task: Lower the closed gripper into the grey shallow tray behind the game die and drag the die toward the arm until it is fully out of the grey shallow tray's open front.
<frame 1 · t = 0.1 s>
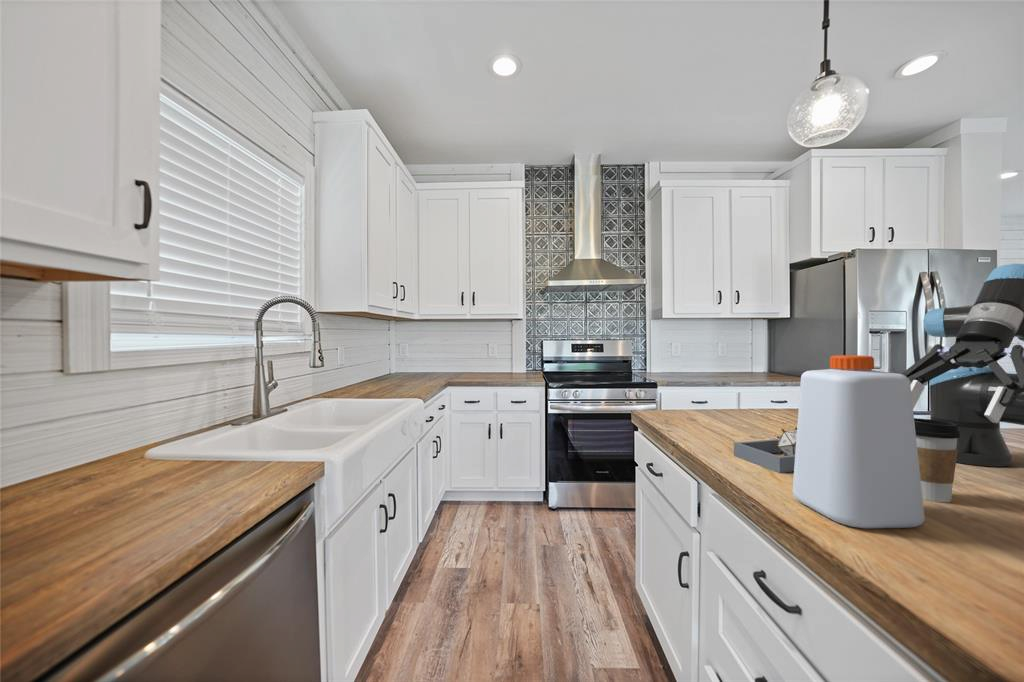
hand: (945, 413, 82), 15 cm above the worktop, tool tilted 35°, fingers open, 13 cm apart
plastic bottle: (853, 512, 71), on the worktop
coffee cup: (928, 497, 77), on the worktop
grey shallow tray: (785, 460, 100), on the worktop
game die: (795, 461, 101), on the worktop
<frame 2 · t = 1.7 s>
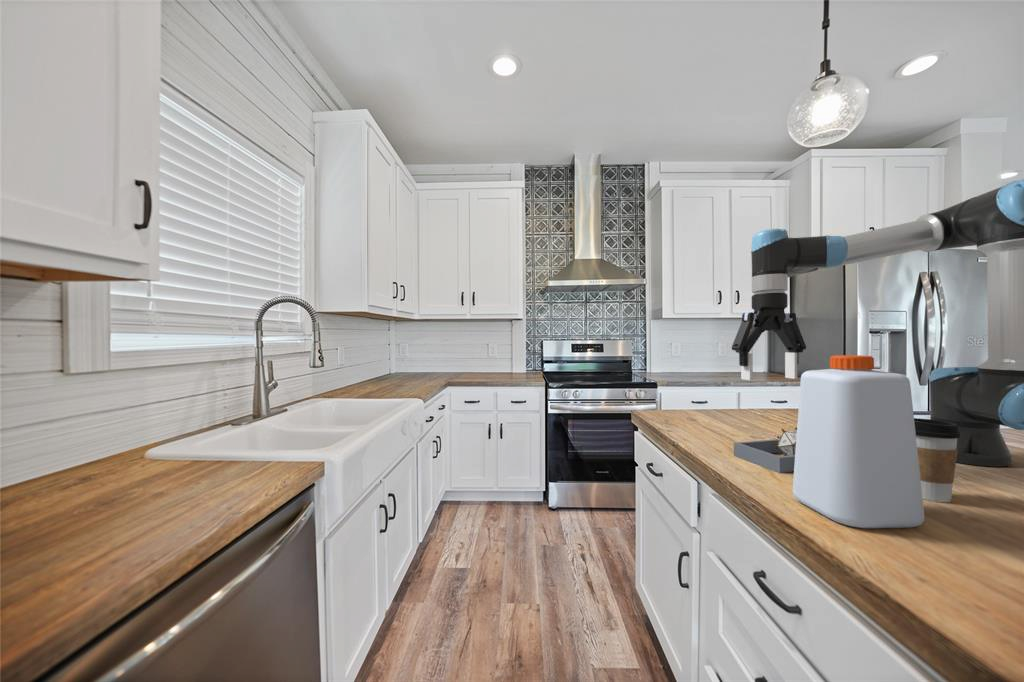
hand: (769, 379, 99), 21 cm above the worktop, tool pointing down, fingers open, 12 cm apart
nothing on the worktop moved.
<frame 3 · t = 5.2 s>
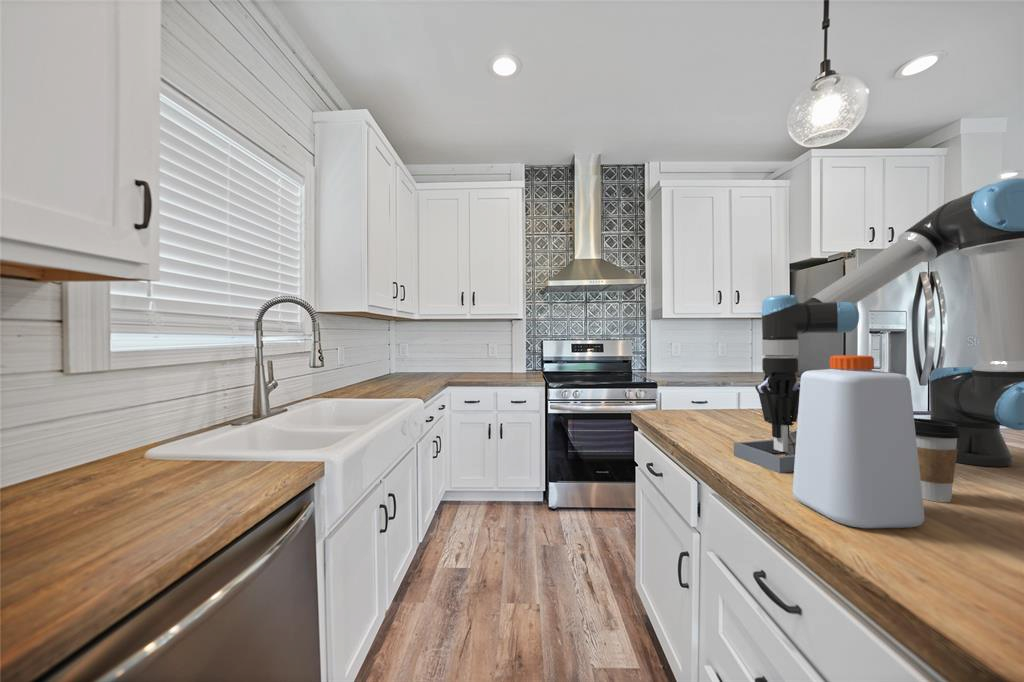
hand: (780, 450, 100), 3 cm above the worktop, tool pointing down, fingers closed
game die: (796, 460, 101), on the worktop, touching gripper
everything else where it was.
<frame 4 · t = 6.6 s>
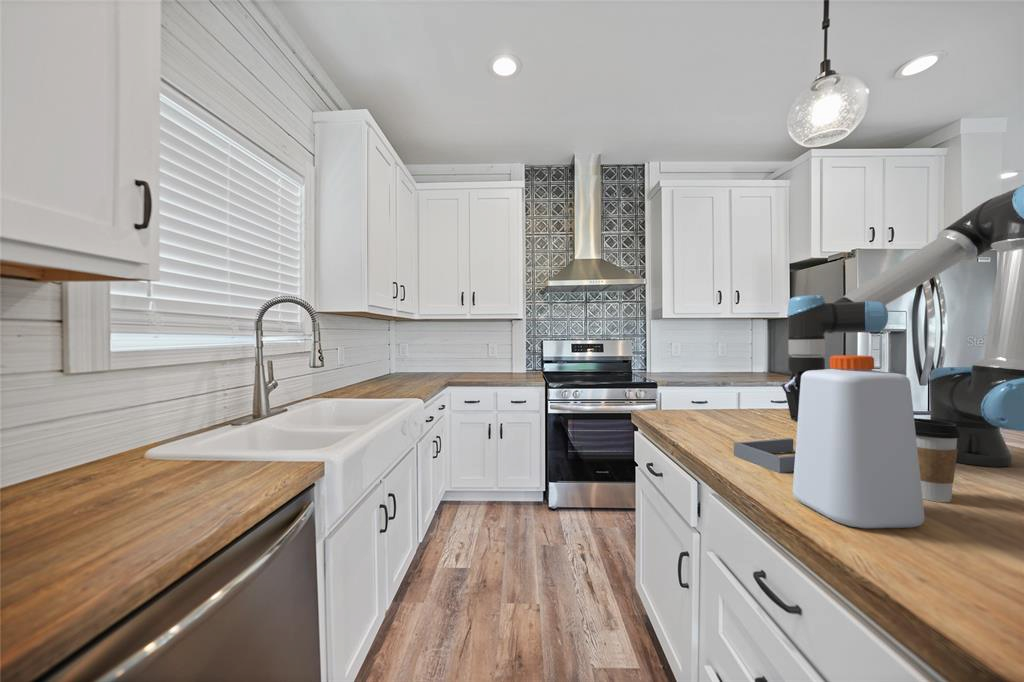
hand: (807, 448, 101), 3 cm above the worktop, tool pointing down, fingers closed
game die: (821, 458, 102), on the worktop, touching gripper
everything else where it was.
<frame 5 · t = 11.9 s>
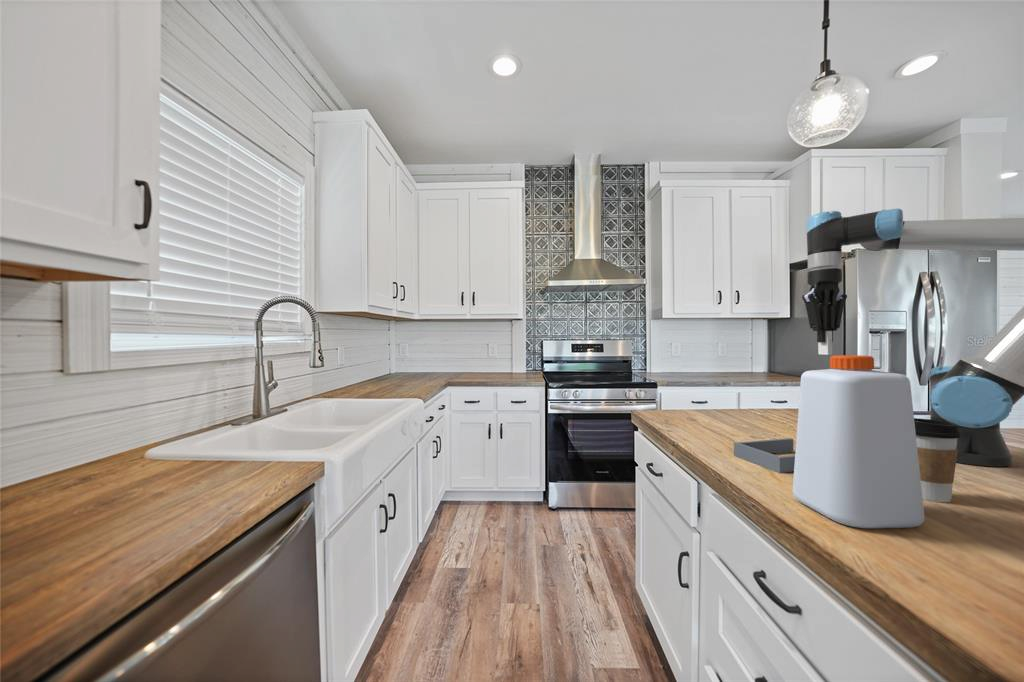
hand: (825, 354, 110), 26 cm above the worktop, tool pointing down, fingers closed
game die: (835, 457, 103), on the worktop
everything else where it was.
at the end: game die inside the target area (5.5 cm from its centre), on the worktop; game die tilted 0° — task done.
